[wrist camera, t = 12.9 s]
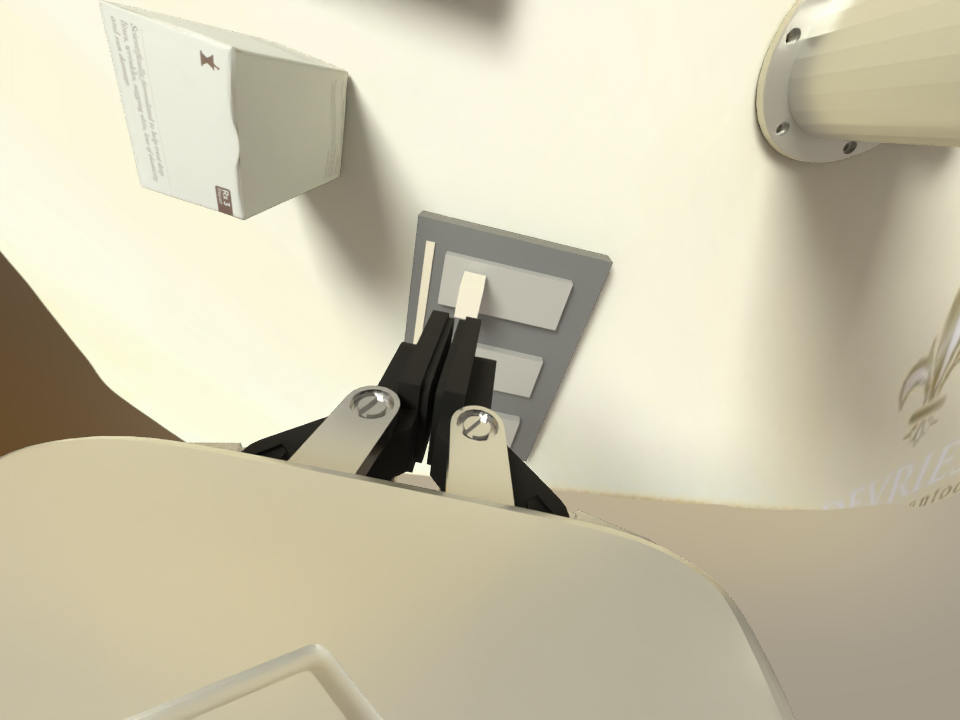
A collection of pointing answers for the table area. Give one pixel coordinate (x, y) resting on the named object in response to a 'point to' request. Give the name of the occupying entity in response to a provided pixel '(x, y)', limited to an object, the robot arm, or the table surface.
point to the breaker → (469, 295)
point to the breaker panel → (509, 309)
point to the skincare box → (224, 111)
